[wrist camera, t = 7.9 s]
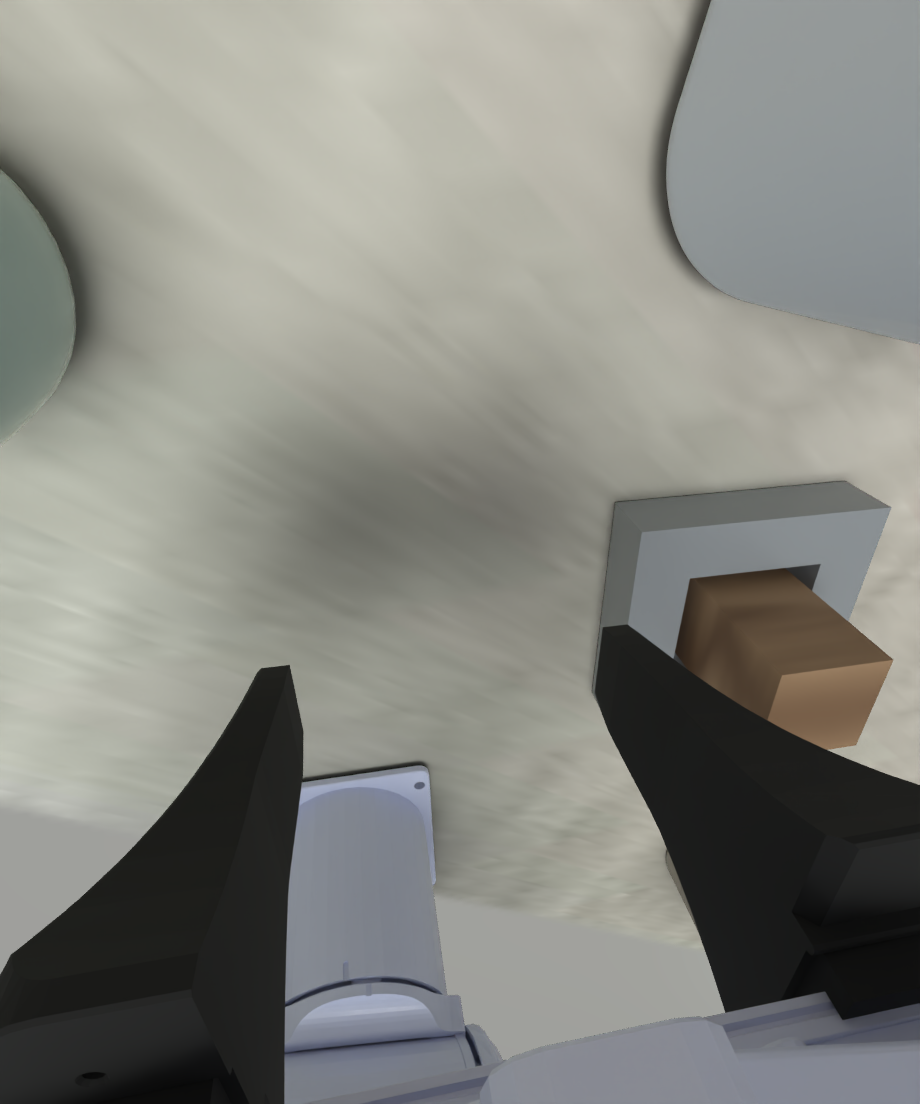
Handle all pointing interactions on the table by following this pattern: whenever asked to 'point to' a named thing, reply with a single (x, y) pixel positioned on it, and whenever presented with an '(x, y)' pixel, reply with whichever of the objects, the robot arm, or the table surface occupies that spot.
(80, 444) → the table surface
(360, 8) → the table surface
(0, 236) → the cup
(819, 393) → the table surface
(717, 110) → the plastic bottle
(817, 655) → the wooden rectangular block
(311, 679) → the table surface
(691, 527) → the grey flat square frame
